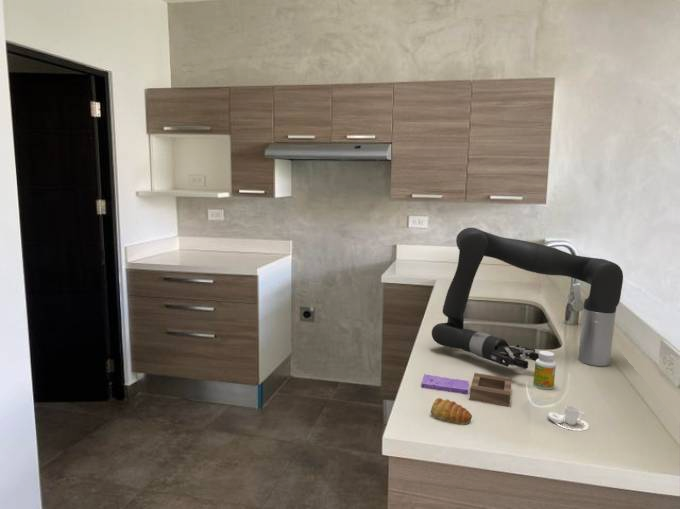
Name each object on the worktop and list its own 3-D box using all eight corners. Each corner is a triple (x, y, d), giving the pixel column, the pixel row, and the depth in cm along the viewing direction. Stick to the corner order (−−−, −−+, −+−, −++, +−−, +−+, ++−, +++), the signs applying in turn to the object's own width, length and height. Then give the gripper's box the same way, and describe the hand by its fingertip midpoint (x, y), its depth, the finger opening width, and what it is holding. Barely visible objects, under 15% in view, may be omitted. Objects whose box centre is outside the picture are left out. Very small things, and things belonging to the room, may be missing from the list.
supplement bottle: (530, 386, 144) (533, 353, 143) (536, 380, 148) (539, 348, 147) (550, 391, 141) (553, 357, 139) (555, 385, 145) (559, 352, 144)
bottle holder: (473, 382, 145) (474, 372, 145) (510, 388, 142) (511, 378, 141) (469, 399, 134) (470, 388, 134) (509, 406, 131) (510, 395, 130)
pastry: (475, 418, 124) (476, 403, 123) (465, 429, 118) (466, 414, 118) (439, 407, 129) (440, 393, 128) (427, 417, 123) (428, 402, 123)
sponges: (423, 380, 147) (424, 373, 147) (468, 386, 144) (469, 379, 144) (420, 389, 141) (421, 382, 140) (467, 396, 137) (468, 389, 137)
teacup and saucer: (543, 422, 123) (545, 406, 123) (557, 412, 129) (558, 397, 128) (580, 436, 117) (582, 419, 117) (593, 425, 123) (595, 409, 122)
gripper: (474, 338, 154) (522, 354, 141) (502, 331, 162) (550, 345, 150) (472, 363, 155) (520, 380, 142) (501, 354, 164) (548, 370, 151)
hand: (536, 362), depth 146 cm, fingers open, 8 cm apart
